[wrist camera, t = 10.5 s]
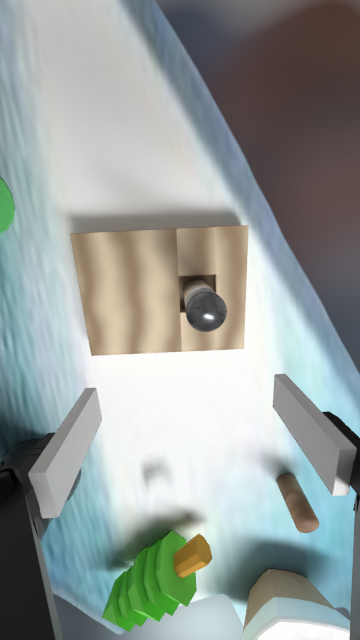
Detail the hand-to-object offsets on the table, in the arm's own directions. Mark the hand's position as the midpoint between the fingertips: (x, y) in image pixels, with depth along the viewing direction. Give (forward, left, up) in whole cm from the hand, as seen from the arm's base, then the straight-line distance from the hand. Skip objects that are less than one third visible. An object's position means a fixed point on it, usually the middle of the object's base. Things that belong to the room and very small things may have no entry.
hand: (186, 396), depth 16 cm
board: (-3, +4, -21) cm, 22 cm away
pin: (+2, +4, -20) cm, 21 cm away
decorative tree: (-10, -57, -21) cm, 61 cm away
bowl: (+21, -73, -21) cm, 79 cm away
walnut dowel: (+20, -37, -21) cm, 47 cm away
